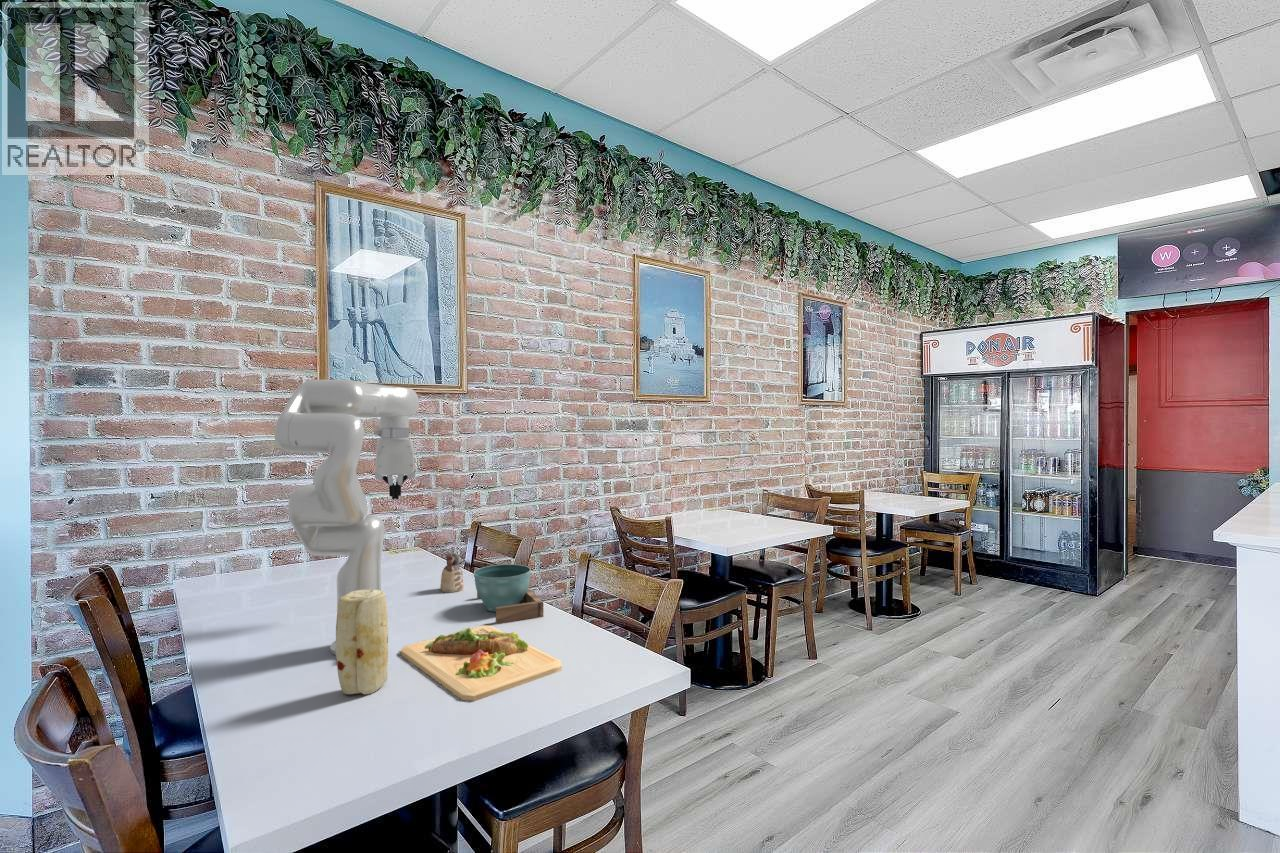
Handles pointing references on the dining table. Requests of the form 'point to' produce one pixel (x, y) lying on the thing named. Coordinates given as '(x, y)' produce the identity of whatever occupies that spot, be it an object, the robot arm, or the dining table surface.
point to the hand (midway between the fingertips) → (395, 498)
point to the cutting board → (480, 661)
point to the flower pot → (502, 584)
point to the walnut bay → (520, 609)
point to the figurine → (452, 575)
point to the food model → (362, 641)
